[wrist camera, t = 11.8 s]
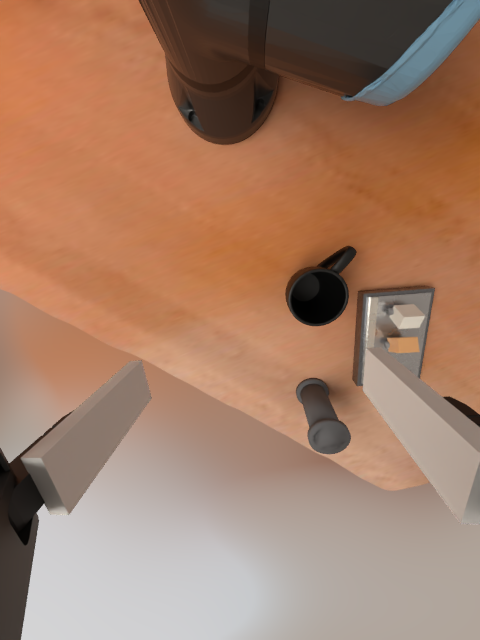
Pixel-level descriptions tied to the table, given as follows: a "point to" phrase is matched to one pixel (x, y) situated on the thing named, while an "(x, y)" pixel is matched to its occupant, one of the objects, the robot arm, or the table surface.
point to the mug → (320, 290)
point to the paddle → (406, 316)
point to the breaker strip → (389, 325)
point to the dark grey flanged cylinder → (322, 418)
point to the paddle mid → (402, 344)
